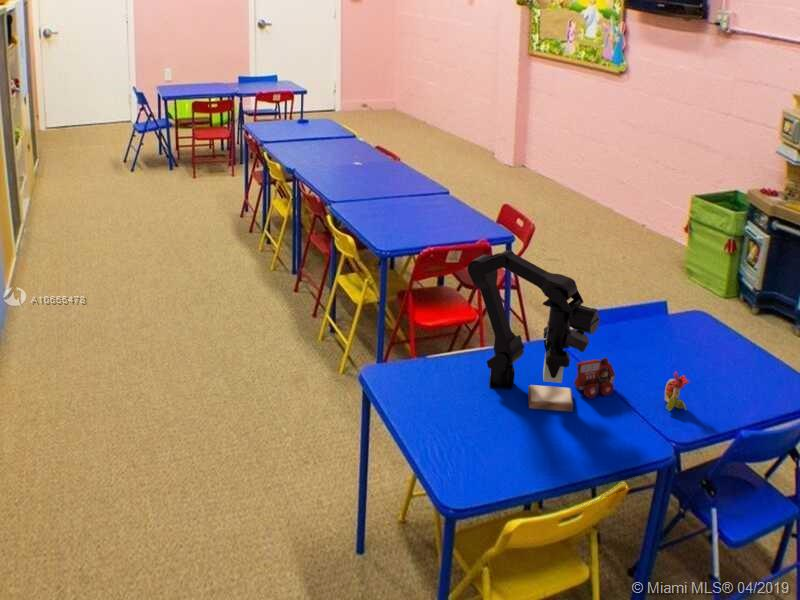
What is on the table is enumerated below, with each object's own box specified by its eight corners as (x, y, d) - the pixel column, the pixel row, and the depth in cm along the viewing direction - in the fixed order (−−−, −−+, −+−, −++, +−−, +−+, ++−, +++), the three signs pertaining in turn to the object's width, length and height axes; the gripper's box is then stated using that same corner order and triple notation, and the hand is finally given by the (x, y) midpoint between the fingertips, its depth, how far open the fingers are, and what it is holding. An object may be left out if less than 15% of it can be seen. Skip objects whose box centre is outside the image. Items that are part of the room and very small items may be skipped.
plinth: (528, 408, 236) (529, 400, 235) (528, 391, 244) (529, 384, 243) (572, 411, 235) (573, 404, 234) (570, 394, 243) (571, 387, 242)
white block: (543, 381, 234) (545, 361, 231) (542, 372, 239) (545, 352, 236) (561, 382, 234) (564, 363, 231) (560, 373, 238) (563, 354, 235)
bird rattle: (655, 408, 241) (669, 413, 232) (654, 369, 241) (669, 373, 232) (676, 407, 242) (691, 412, 233) (675, 368, 242) (690, 372, 233)
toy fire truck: (618, 393, 244) (623, 362, 240) (581, 400, 240) (585, 368, 236) (605, 382, 250) (610, 351, 246) (568, 388, 246) (572, 357, 242)
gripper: (592, 341, 220) (584, 392, 226) (586, 310, 236) (579, 359, 243) (548, 337, 221) (542, 389, 227) (546, 307, 237) (540, 355, 244)
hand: (552, 372), depth 235 cm, fingers closed on white block, 5 cm apart
